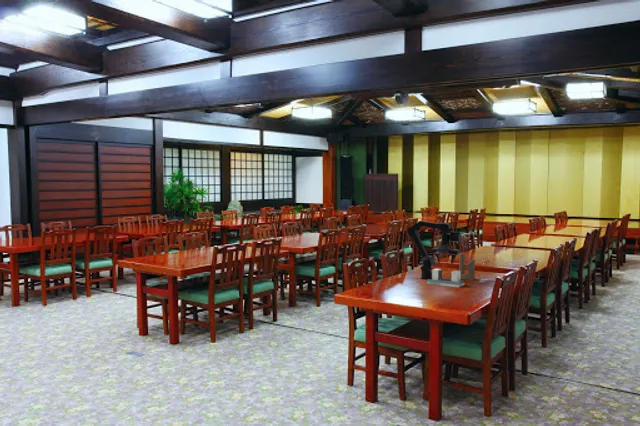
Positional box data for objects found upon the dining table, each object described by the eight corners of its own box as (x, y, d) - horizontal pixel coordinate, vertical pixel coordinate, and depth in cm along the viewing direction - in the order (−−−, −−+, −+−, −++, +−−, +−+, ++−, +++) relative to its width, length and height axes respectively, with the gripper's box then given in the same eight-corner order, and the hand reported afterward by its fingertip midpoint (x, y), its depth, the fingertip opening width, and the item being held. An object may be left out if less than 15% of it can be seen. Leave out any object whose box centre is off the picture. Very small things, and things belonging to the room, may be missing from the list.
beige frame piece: (472, 280, 365) (473, 254, 364) (458, 278, 371) (458, 253, 370) (474, 279, 368) (475, 254, 367) (460, 277, 374) (460, 252, 373)
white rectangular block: (435, 280, 358) (435, 268, 358) (442, 280, 356) (442, 269, 355) (432, 281, 353) (432, 269, 353) (438, 282, 351) (438, 270, 350)
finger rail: (427, 283, 353) (427, 269, 353) (433, 281, 362) (433, 267, 361) (459, 287, 341) (459, 272, 340) (464, 284, 349) (464, 270, 348)
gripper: (428, 241, 361) (428, 263, 362) (454, 243, 350) (454, 266, 351) (434, 239, 370) (434, 261, 371) (460, 241, 359) (460, 264, 360)
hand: (445, 263), depth 363 cm, fingers open, 9 cm apart
